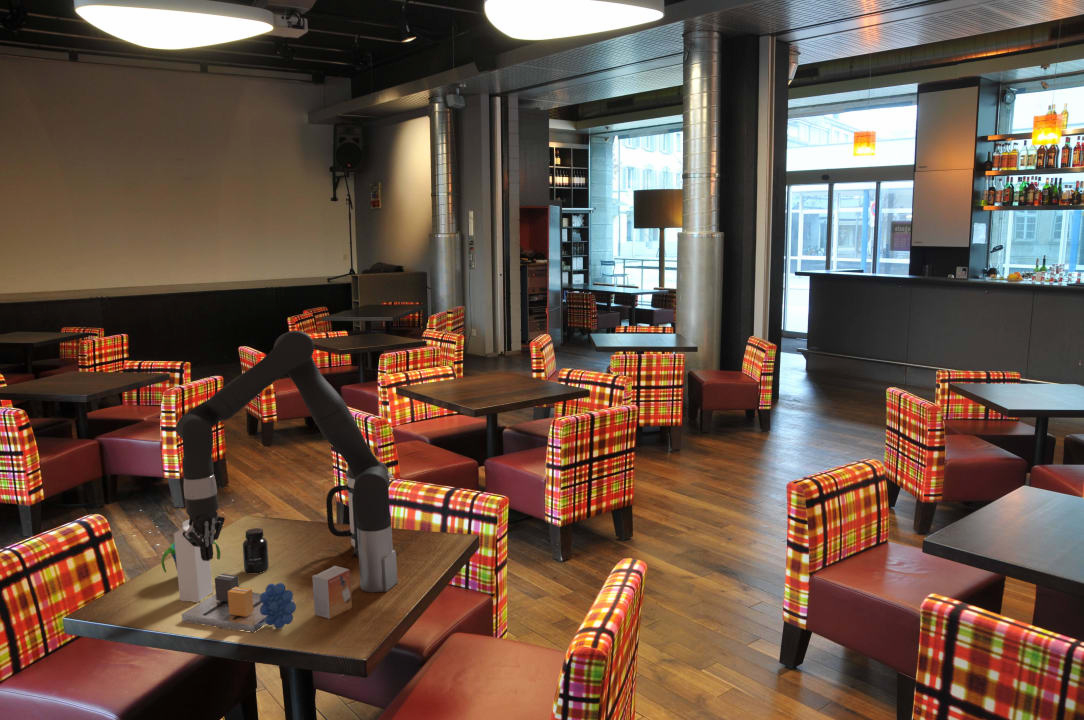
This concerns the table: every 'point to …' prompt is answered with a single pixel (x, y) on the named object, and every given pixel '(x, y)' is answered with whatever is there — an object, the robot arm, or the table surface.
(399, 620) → the table surface
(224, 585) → the block
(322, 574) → the small box
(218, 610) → the console
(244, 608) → the orange fader
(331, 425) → the robot arm
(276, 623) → the grapes
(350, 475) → the coffee press
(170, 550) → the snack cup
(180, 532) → the milk
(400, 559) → the table surface
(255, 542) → the supplement bottle
